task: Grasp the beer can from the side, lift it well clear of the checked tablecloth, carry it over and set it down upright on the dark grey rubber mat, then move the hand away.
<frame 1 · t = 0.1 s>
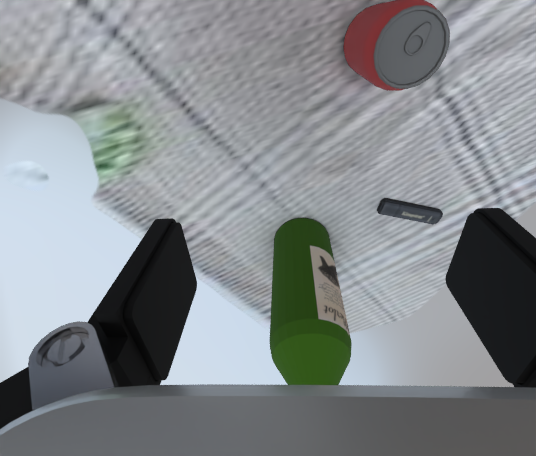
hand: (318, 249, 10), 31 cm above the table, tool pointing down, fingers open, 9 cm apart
usb stick: (407, 208, 45), on the table
beer can: (372, 41, 33), on the table
wine bottle: (301, 239, 49), on the table
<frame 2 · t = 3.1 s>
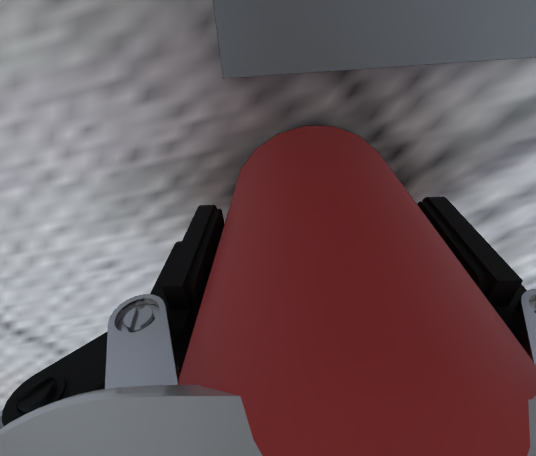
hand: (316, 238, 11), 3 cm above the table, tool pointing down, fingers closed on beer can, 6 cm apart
beer can: (309, 194, 13), on the table, touching gripper
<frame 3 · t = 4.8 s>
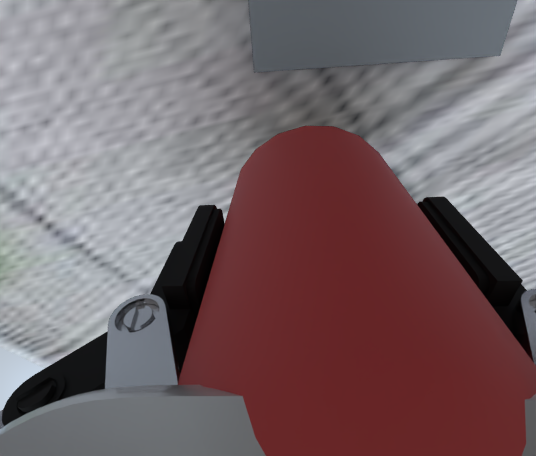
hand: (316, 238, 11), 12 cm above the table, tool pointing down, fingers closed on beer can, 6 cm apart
beer can: (309, 194, 13), point 9 cm above the table, touching gripper
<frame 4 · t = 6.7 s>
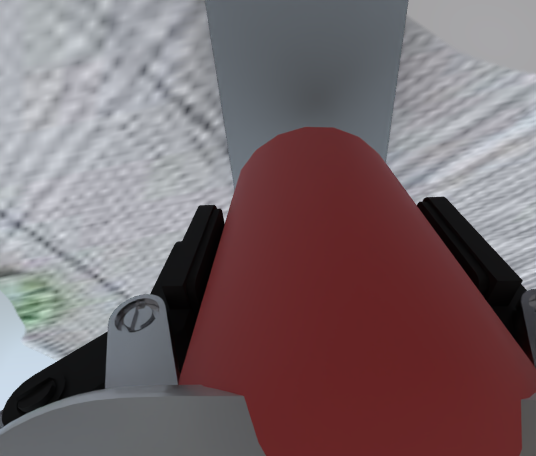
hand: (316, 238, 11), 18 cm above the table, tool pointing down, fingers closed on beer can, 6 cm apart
mat: (305, 110, 25), on the table
beer can: (309, 195, 13), point 15 cm above the table, touching gripper
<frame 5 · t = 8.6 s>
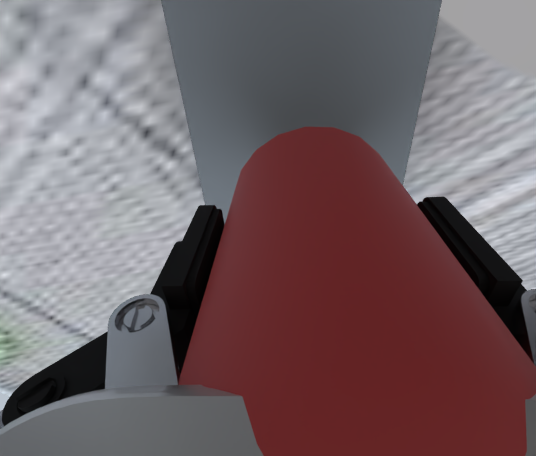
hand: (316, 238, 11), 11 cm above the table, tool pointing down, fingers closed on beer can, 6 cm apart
mat: (299, 135, 20), on the table
beer can: (309, 195, 13), point 8 cm above the table, touching gripper
when the fingers open (5 cm above the table, at t = 10.2 s): beer can drops 1 cm, resting on mat.
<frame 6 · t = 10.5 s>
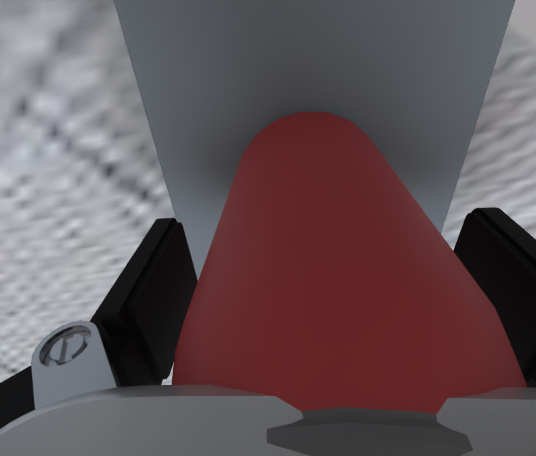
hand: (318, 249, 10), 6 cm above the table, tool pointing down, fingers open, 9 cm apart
mat: (306, 175, 15), on the table
beer can: (306, 177, 14), point 1 cm above the table, touching mat
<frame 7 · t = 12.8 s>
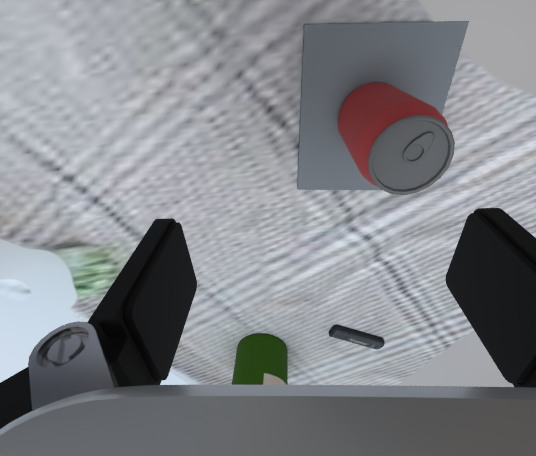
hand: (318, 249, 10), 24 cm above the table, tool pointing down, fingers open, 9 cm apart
mat: (368, 116, 31), on the table
usb stick: (355, 332, 51), on the table
beer can: (369, 116, 30), point 1 cm above the table, touching mat
wine bottle: (262, 347, 54), on the table
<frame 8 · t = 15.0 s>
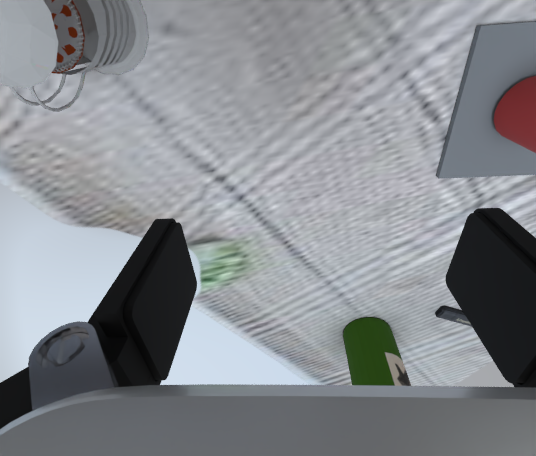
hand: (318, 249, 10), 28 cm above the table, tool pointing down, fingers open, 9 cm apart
mat: (518, 107, 33), on the table
french press: (101, 31, 31), on the table
usb stick: (459, 312, 53), on the table
beer can: (522, 106, 33), point 1 cm above the table, touching mat
wine bottle: (366, 331, 57), on the table
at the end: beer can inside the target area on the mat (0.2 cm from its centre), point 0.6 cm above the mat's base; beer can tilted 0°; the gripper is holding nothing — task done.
